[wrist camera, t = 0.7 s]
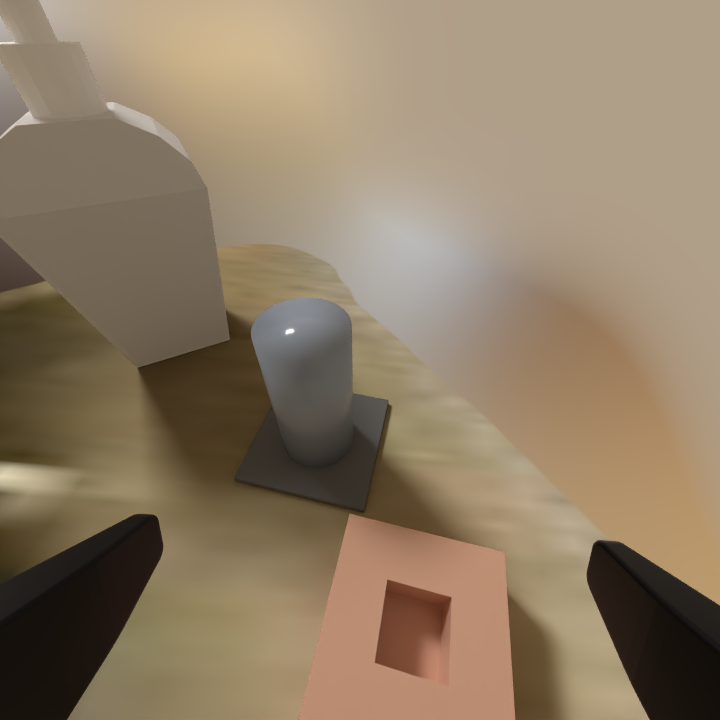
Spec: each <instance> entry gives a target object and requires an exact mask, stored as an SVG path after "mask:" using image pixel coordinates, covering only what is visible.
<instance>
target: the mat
mask: <svg viewBox="0 0 720 720" xmlns="http://www.w3.org/2000/svg"><path fill="white" fill-rule="evenodd" d="M387 406H388V400H385V399H380V398H375V397H369V396H364V395H359V394H353V432H354V435H353V442H352V445H351V448H350V449H349V451H348V452H347V454H346V455H345V456H344V457H343V458H342V459H341V460H339V461H338V462H336V463H334V464H332V465H330V466H327V467H322V468H309V467H305V466H302V465H300V464H298V463H296V462H295V461H293V460H292V459H291V458H290V457H289V455H288V454H287V452H286V450H285V447H284V444H283V441H282V437H281V434H280V431H279V427H278V424H277V421H276V418H275V414H274V411H273V408H271V409H270V411H269V413H268V415H267V417H266V419H265V421H264V423H263V425H262V427H261V428H260V430H259V432H258V434H257V436H256V438H255V440H254V442H253V444H252V446H251V447H250V449H249V451H248V453H247V455H246V457H245V459H244V461H243V463H242V465H241V467H240V468H239V470H238V472H237V474H236V476H235V480H236V481H239V482H243V483H247V484H251V485H255V486H259V487H263V488H267V489H271V490H275V491H279V492H283V493H287V494H291V495H295V496H300V497H304V498H308V499H312V500H316V501H320V502H324V503H328V504H332V505H336V506H340V507H344V508H348V509H352V510H356V511H360V512H364V510H365V505H366V501H367V496H368V492H369V487H370V483H371V478H372V474H373V469H374V465H375V460H376V456H377V451H378V447H379V442H380V438H381V433H382V429H383V424H384V420H385V415H386V411H387Z"/></svg>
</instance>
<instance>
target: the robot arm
mask: <svg viewBox="0 0 720 720" xmlns="http://www.w3.org/2000/svg"><path fill="white" fill-rule="evenodd" d="M162 552H163V541H162V536H161V531H160V525H159V521H158V518H157V517H156V516H155V515H151V514H135V515H133V516H131V517H129V518H127V519H125V520H123V521H121V522H119V523H117V524H115V525H113V526H111V527H109V528H108V529H106V530H104V531H102V532H100V533H98V534H96V535H94V536H92V537H90V538H88V539H86V540H84V541H82V542H80V543H79V544H77V545H75V546H73V547H71V548H69V549H67V550H65V551H63V552H61V553H59V554H57V555H55V556H53V557H51V558H50V559H48V560H46V561H44V562H42V563H40V564H38V565H36V566H34V567H32V568H30V569H28V570H26V571H24V572H22V573H21V574H19V575H17V576H15V577H13V578H11V579H9V580H7V581H5V582H3V583H1V584H0V720H67V719H68V717H69V716H70V714H71V713H72V711H73V709H74V708H75V706H76V705H77V703H78V701H79V700H80V698H81V697H82V695H83V693H84V692H85V690H86V689H87V687H88V686H89V684H90V682H91V681H92V679H93V678H94V676H95V674H96V673H97V671H98V670H99V668H100V666H101V665H102V663H103V662H104V660H105V659H106V657H107V655H108V654H109V652H110V650H111V649H112V647H113V645H114V644H115V642H116V640H117V639H118V637H119V635H120V633H121V632H122V630H123V628H124V626H125V624H126V623H127V621H128V619H129V617H130V615H131V613H132V611H133V609H134V607H135V605H136V604H137V602H138V600H139V598H140V596H141V594H142V592H143V590H144V588H145V587H146V585H147V583H148V581H149V579H150V577H151V575H152V573H153V571H154V570H155V568H156V566H157V564H158V562H159V560H160V558H161V555H162ZM587 582H588V585H589V588H590V591H591V593H592V595H593V597H594V600H595V602H596V604H597V607H598V609H599V611H600V614H601V616H602V618H603V621H604V623H605V625H606V627H607V630H608V632H609V634H610V637H611V639H612V641H613V644H614V646H615V648H616V651H617V653H618V655H619V658H620V660H621V662H622V664H623V667H624V669H625V671H626V673H627V675H628V678H629V680H630V682H631V684H632V686H633V688H634V690H635V692H636V694H637V696H638V698H639V700H640V702H641V704H642V706H643V708H644V710H645V711H646V713H647V715H648V717H649V719H650V720H720V605H718V604H717V603H715V602H714V601H712V600H710V599H709V598H707V597H706V596H704V595H702V594H701V593H699V592H698V591H696V590H694V589H693V588H692V587H690V586H688V585H687V584H685V583H684V582H682V581H681V580H679V579H678V578H676V577H674V576H673V575H671V574H670V573H668V572H666V571H665V570H663V569H662V568H660V567H659V566H657V565H656V564H654V563H652V562H651V561H649V560H648V559H646V558H645V557H643V556H641V555H640V554H638V553H637V552H635V551H634V550H632V549H631V548H629V547H627V546H626V545H624V544H623V543H620V542H616V541H604V540H599V541H596V542H595V543H594V544H593V547H592V552H591V556H590V560H589V565H588V569H587Z"/></svg>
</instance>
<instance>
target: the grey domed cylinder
mask: <svg viewBox="0 0 720 720" xmlns="http://www.w3.org/2000/svg"><path fill="white" fill-rule="evenodd" d="M251 338H252V342H253V345H254V349H255V352H256V355H257V358H258V362H259V365H260V368H261V372H262V375H263V378H264V381H265V385H266V388H267V391H268V395H269V398H270V401H271V404H272V408H273V411H274V414H275V418H276V421H277V424H278V427H279V431H280V434H281V437H282V441H283V444H284V447H285V450H286V452H287V454H288V455H289V457H290V458H291V459H292V460H293V461H295V462H296V463H298V464H300V465H302V466H305V467H309V468H322V467H327V466H330V465H332V464H334V463H336V462H338V461H339V460H341V459H342V458H343V457H344V456H345V455H346V454H347V452H348V451H349V449H350V448H351V445H352V442H353V435H354V432H353V374H352V324H351V320H350V317H349V315H348V314H347V313H346V311H345V310H344V309H342V308H341V307H340V306H338V305H336V304H334V303H332V302H330V301H327V300H323V299H317V298H297V299H291V300H287V301H283V302H280V303H278V304H276V305H273V306H271V307H270V308H268V309H266V310H265V311H264V312H263V313H261V314H260V315H259V316H258V318H257V319H256V320H255V322H254V323H253V326H252V329H251Z"/></svg>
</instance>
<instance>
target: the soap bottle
mask: <svg viewBox="0 0 720 720" xmlns="http://www.w3.org/2000/svg"><path fill="white" fill-rule="evenodd" d="M0 16H1V18H2V20H3V21H4V23H5V25H6V27H7V29H8V31H9V33H10V34H11V37H12V38H13V40H14V42H2V43H0V60H1V62H2V64H3V65H4V67H5V69H6V71H7V72H8V74H9V76H10V78H11V79H12V81H13V83H14V85H15V86H16V88H17V90H18V92H19V93H20V95H21V97H22V99H23V100H24V102H25V104H26V106H27V108H28V109H29V112H27V113H26V114H25V115H24V116H23V117H22V118H20V119H19V120H18V121H17V122H16V123H14V125H12V126H11V127H10V128H9V129H8V130H7V131H6V132H5V133H4V134H3V135H2V136H1V137H0V237H1V238H2V239H3V240H4V241H5V242H6V243H7V244H8V245H9V246H11V248H12V249H14V250H15V251H16V252H17V253H18V254H19V255H20V256H21V257H22V258H23V259H24V260H25V261H26V262H27V263H28V264H29V265H30V266H31V267H32V268H33V269H34V270H36V271H37V272H38V273H39V274H40V275H41V276H42V277H43V278H44V279H45V280H46V281H47V282H48V283H49V284H50V285H51V286H52V287H53V288H54V289H55V290H56V291H58V292H59V293H60V294H61V295H62V296H63V297H64V298H65V299H66V300H67V301H68V302H69V303H70V304H71V305H72V306H73V307H74V308H75V309H76V310H77V311H78V312H80V313H81V314H82V315H83V316H84V317H85V318H86V319H87V320H88V321H89V322H90V323H91V324H92V325H93V326H94V327H95V328H96V329H97V330H98V331H99V332H101V333H102V334H103V335H104V336H105V337H106V338H107V339H108V340H109V341H110V342H111V343H112V344H113V345H114V346H115V347H116V348H117V349H118V350H119V351H120V352H122V353H123V354H124V355H125V356H126V357H127V358H128V359H129V360H130V361H131V362H132V363H133V364H134V365H135V366H136V367H137V368H139V367H142V366H145V365H149V364H152V363H155V362H159V361H162V360H165V359H168V358H172V357H175V356H178V355H182V354H185V353H188V352H192V351H195V350H198V349H202V348H205V347H208V346H211V345H215V344H218V343H221V342H225V341H228V340H230V336H229V330H228V323H227V316H226V310H225V303H224V297H223V290H222V283H221V277H220V270H219V264H218V257H217V250H216V244H215V237H214V231H213V224H212V217H211V211H210V204H209V198H208V191H207V187H206V185H205V184H204V182H203V180H202V178H201V177H200V175H199V173H198V172H197V170H196V168H195V167H194V165H193V163H192V161H191V160H190V158H189V156H188V155H187V153H186V152H185V150H184V148H183V146H182V145H181V143H180V141H179V140H178V138H177V137H176V136H175V135H173V134H172V133H171V132H170V131H168V130H167V129H166V128H164V127H163V126H162V125H161V124H159V123H158V122H156V121H155V120H154V119H153V118H151V117H149V116H146V115H144V114H142V113H139V112H137V111H134V110H132V109H129V108H127V107H125V106H122V105H119V104H117V103H115V102H109V103H106V102H105V99H104V97H103V95H102V92H101V90H100V88H99V85H98V83H97V81H96V79H95V76H94V74H93V72H92V69H91V67H90V65H89V62H88V60H87V58H86V55H85V53H84V51H83V49H82V46H81V44H80V42H58V41H57V38H56V37H55V34H54V32H53V30H52V28H51V26H50V24H49V21H48V20H47V18H46V15H45V13H44V10H43V8H42V6H41V4H40V2H39V0H0Z"/></svg>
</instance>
